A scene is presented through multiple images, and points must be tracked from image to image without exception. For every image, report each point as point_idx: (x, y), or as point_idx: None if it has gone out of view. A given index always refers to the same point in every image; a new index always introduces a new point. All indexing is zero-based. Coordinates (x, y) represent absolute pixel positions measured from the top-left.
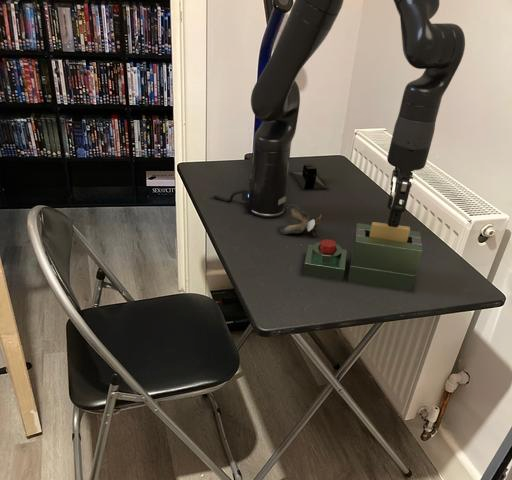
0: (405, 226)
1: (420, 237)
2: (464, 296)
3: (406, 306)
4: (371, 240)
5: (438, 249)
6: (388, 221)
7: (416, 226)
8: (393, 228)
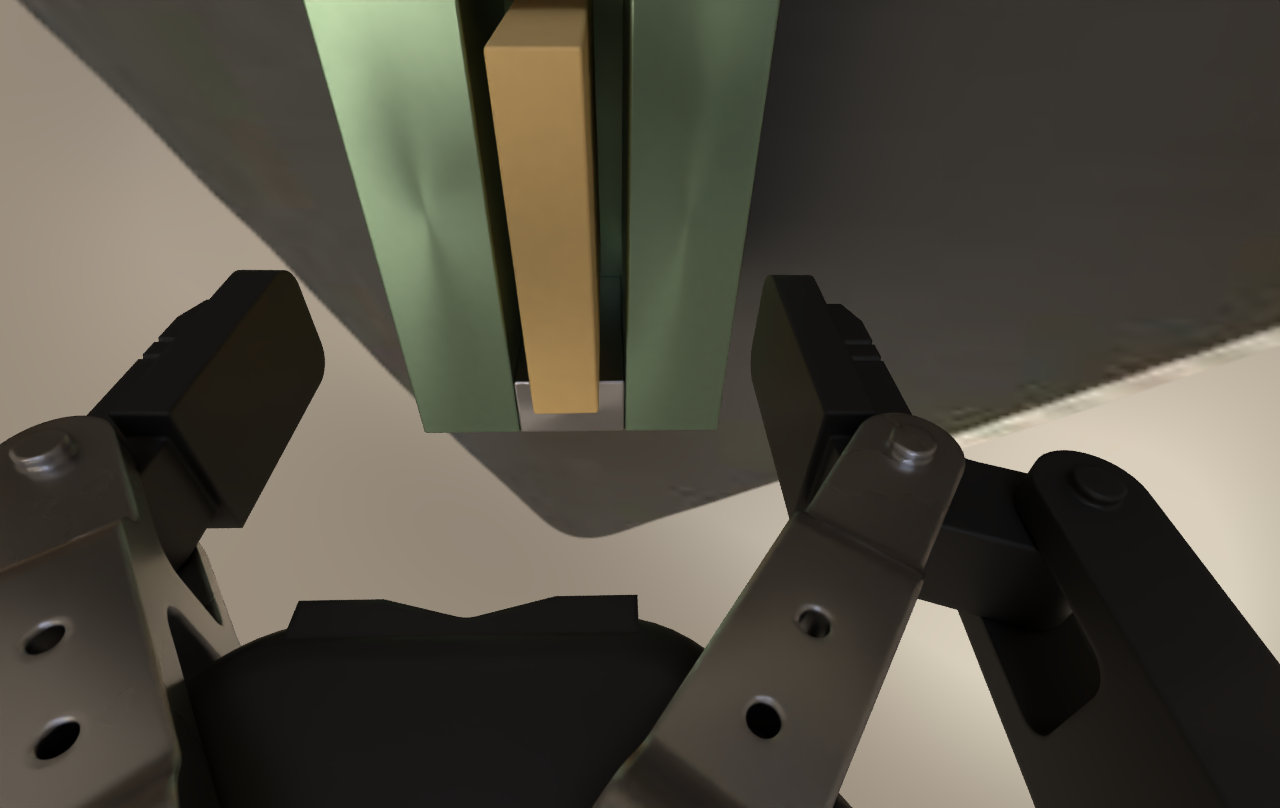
0: (590, 385)
1: (628, 429)
2: (532, 458)
3: (315, 242)
4: (386, 34)
5: (921, 400)
6: (215, 294)
7: (1185, 323)
8: (517, 287)
